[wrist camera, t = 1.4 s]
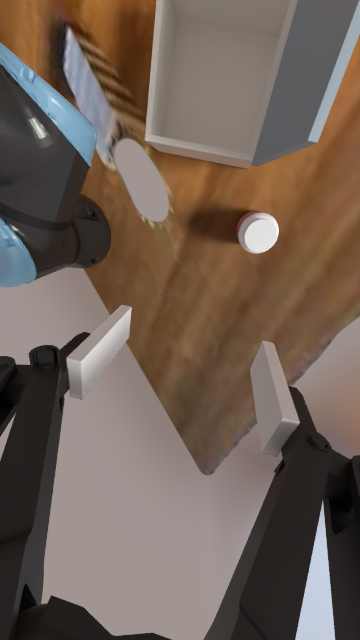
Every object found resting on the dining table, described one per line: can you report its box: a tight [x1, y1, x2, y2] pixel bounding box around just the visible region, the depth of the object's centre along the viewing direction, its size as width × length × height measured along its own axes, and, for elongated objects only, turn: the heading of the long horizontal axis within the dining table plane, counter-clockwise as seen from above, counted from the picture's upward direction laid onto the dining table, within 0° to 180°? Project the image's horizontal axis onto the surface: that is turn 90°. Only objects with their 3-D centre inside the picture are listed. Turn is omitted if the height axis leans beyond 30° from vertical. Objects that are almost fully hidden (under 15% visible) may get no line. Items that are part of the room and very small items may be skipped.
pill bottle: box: [237, 211, 279, 253], centre depth 38 cm, size 6×6×11 cm
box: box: [145, 0, 298, 169], centre depth 32 cm, size 16×16×8 cm
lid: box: [252, 0, 360, 166], centre depth 20 cm, size 16×17×2 cm
